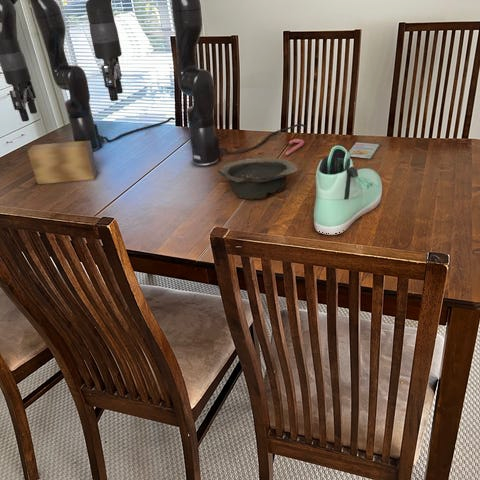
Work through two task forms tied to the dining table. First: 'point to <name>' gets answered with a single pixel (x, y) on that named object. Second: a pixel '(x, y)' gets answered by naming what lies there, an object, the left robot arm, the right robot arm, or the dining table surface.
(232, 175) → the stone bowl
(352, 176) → the sneaker
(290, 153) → the candy cane
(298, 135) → the dining table surface
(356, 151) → the baking ingredient package
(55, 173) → the box
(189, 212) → the dining table surface
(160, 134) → the dining table surface
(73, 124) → the left robot arm
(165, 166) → the dining table surface
